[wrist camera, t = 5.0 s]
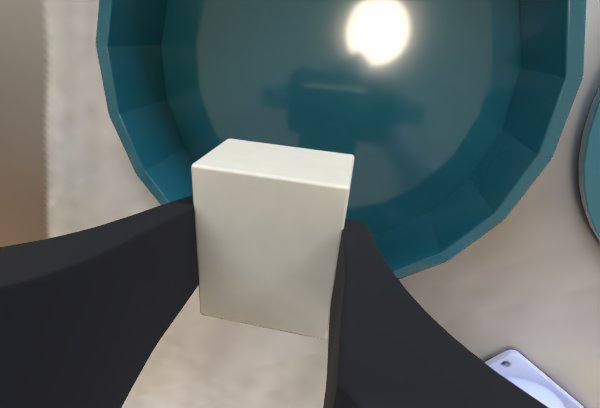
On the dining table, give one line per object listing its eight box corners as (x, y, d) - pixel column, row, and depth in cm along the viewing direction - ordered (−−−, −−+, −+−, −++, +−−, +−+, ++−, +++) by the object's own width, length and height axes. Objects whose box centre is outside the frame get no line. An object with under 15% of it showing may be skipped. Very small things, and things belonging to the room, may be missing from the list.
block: (355, 154, 11) (350, 187, 8) (334, 285, 13) (326, 341, 10) (227, 137, 11) (189, 164, 9) (229, 266, 13) (199, 315, 11)
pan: (340, 289, 22) (333, 343, 18) (107, 103, 19) (41, 120, 15) (624, 57, 14) (719, 65, 10) (300, -294, 12) (264, -455, 8)
